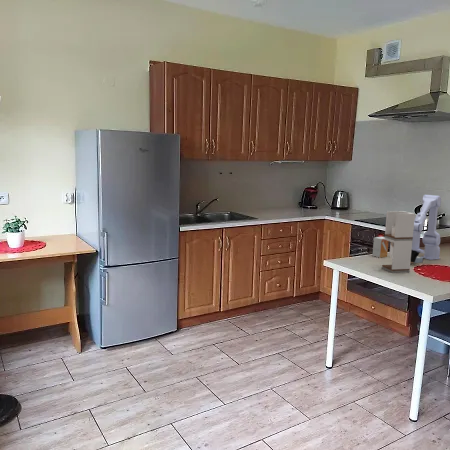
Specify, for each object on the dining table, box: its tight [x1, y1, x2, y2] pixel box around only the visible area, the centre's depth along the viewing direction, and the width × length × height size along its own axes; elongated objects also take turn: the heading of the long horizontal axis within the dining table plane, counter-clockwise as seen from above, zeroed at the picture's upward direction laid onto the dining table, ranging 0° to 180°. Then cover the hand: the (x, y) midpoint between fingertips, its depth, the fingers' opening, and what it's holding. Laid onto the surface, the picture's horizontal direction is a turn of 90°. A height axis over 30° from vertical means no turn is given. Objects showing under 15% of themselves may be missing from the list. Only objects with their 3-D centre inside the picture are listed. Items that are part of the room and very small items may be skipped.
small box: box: [371, 236, 390, 259], centre depth 295 cm, size 8×6×13 cm
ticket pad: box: [413, 255, 424, 264], centre depth 286 cm, size 7×13×3 cm, turn 22°
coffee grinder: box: [381, 210, 416, 274], centre depth 258 cm, size 11×11×35 cm
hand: (412, 262), depth 276 cm, fingers closed
